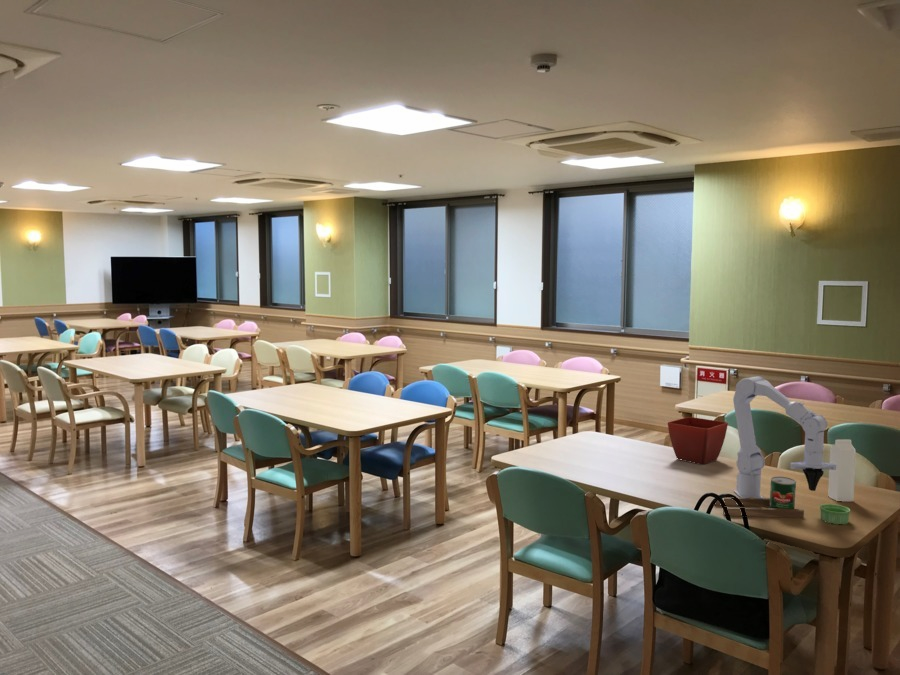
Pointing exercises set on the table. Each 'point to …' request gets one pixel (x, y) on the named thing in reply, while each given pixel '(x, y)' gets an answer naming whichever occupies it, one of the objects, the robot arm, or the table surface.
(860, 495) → the table surface
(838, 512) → the ramekin
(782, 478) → the canned tomato
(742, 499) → the beam channel
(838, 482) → the milk
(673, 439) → the plant pot
